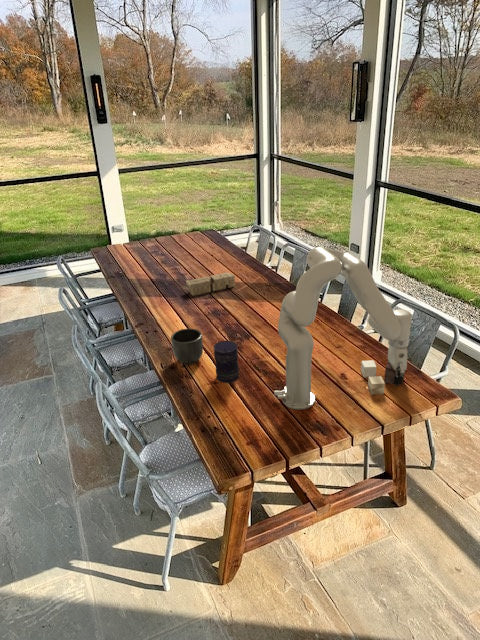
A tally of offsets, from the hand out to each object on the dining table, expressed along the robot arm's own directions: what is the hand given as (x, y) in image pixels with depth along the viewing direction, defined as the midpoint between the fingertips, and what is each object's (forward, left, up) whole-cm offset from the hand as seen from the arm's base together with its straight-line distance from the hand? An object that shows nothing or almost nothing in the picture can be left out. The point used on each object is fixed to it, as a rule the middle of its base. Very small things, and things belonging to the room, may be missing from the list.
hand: (394, 377), depth 188 cm
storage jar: (-68, +9, -2) cm, 69 cm away
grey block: (-9, +6, -2) cm, 11 cm away
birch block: (-9, -6, -2) cm, 11 cm away
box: (0, 0, -2) cm, 2 cm away
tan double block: (-81, +107, -2) cm, 134 cm away
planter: (-86, +24, -2) cm, 89 cm away
